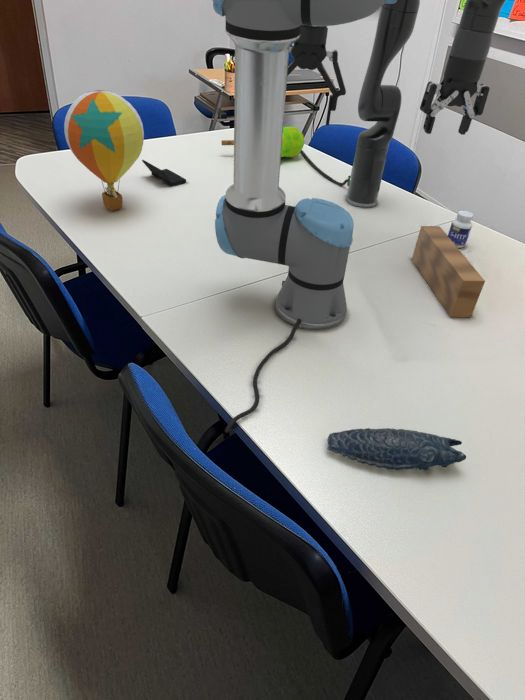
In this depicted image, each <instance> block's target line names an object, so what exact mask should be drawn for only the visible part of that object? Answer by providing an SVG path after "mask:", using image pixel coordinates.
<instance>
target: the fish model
mask: <svg viewBox="0 0 525 700" xmlns="http://www.w3.org/2000/svg"><path fill="white" fill-rule="evenodd" d="M326 440H327V444H328V446H327V451H330V452H333V453H334V454H339V455H340V456H342V457H343V458H344V457H345V458H346V457H347V459H349V460H351V461H356V462H357V463H360V464H366V465H368V466H374V467H376V468H378V469H379V468H380V469H385V470H386V469H387V470H395V471H401V470H411V469H416V470H419V471H427V470H429V469H430V468H433V467H438V466H439V467H441V468H448V467H449V466H451V465H453V464H456V463H461V462H463V461H465V460H466V459H467V455H466V454H465V453H464V452H462V451H461V450H457V449H456V448H454V446H459V445H462V444H463V441H461V440H459V439H455V438H450V437H445V436H440V435H438V434H432V433H427V432H424V431H417V430H412V429H411V430H410V429H405V428H398V429H396V428H388V427H387V428H383V427H382V428H370V427H368V428H353V429H349V430H342V431H337V432H332V433H329V435H328V437H327V439H326Z"/></svg>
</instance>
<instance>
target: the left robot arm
mask: <svg viewBox="0 0 525 700" xmlns="http://www.w3.org/2000/svg"><path fill="white" fill-rule="evenodd" d="M211 1H212V8H213V10H214V13H216V14H217V15H219V16H220V17H225V33H226V35H227V36H228V37H229V39H230V40H232V42H233V43H234V105H233V106H234V107H233V108H234V110H233V111H234V112H233V113H234V114H233V117H234V118H233V120H234V121H233V128H234V129H233V140H234V145H233V184H232V185H230V186H229V187H228V188H227V189H226V190H225V194H224V195H222V196H221V197H220V199H218V202H217V205H216V209H215V220H214V230H215V231H214V233H215V237H216V242H217V245H218V246H219V248H220V250H221V251H222V252H223V253H225V254H227V255H230V256H235V257H237V258H240V259H250V260H254V261H260V262H266V263H270V264H277V265H282V266H287V267H288V270H287V271H288V272H287V275H286V278H285V279H284V280H281V287H280V290H279V291H278V294H277V296H276V300H275V311H276V313H277V315H278V316H279V317H280V318H281V319H282V320H283V321H284V322H286V323H287V324H289V325H291V326H293V327H292V329H291V332H290V334H289V335H288V337H287V338H286V339H285V340H284V341H283V342H282V343H281V344H280V345H278V346H277V347H275V348H273V349H271V350H270V351H269V352H268V354H267V355H265V356H264V358H263V359H262V360H261V361H260V363H259V364H258V366H257V368H256V370H255V372H254V374H253V379H252V387H253V391H254V392H253V393H254V402H253V404H252V406H251V407H250V408H249V409H246V410H245V411H243V412H241V413H239V414H237V415H235V416H234V417H233V418H232V419H231V420H230V421H229V423H227V425H226V427H225V429H224V432H225V434H227V433H230V432H231V429H232V428H233V426H234V425H235V424H236V423H237V422H238V421H239V420H240V419H242V418H245V417H247V416H249V415H250V414H252V413H254V411H256V409H257V408H258V406H259V403H260V391H259V386H258V377H259V375H260V372H261V370H262V369H263V367H264V366H265V364H266V363H267V362H268V361H269V359H270V358H271V357H273V355H274V354H276V353H277V352H279V351H280V350H282V349H283V348H285V347H286V346H287V345H289V343H290V342H291V341H292V340H293V338H294V336H295V334H296V332H297V329H298V328H300V329H304V330H310V331H324V330H325V331H326V330H329V329H333V328H336V327H337V326H339V325H340V324H342V323H343V322H344V320H345V318H346V315H347V310H348V307H347V306H348V305H347V297H346V292H345V286H344V280H345V275H346V271H347V267H348V266H347V265H348V260H349V256H350V255H349V254H350V250H351V249H350V248H351V246H352V244H353V242H354V239H353V236H354V235H353V234H354V228H355V223H354V222H355V221H354V219H353V217H352V215H351V214H350V213H349V212H348V211H347V210H346V209H345V208H344V207H343V206H341V205H339V204H337V203H334V202H333V201H329V200H326V199H323V198H318V197H317V198H316V197H312V198H308V197H307V198H303V199H300V200H299V201H297V202H296V205H295V206H294V205H290V204H289V205H288V204H286V200H287V199H286V197H287V196H286V192H285V191H284V190H283V189H282V188H281V187H280V175H281V174H280V173H281V163H282V162H281V161H282V157H281V150H282V137H283V127H284V122H285V111H286V110H285V108H286V97H287V83H288V76H289V75H290V74H291V73H292V72H293V71H294V70H295V69H296V68H297V67H298V68H299V69H300V70H306V69H307V70H309V71H314V70H316V69H317V71H318V73H319V74H320V76H321V77H322V79H323V81H324V83H325V84H326V86H327V88H328V89H329V91H330V93H331V94H329V100H328V105H327V113H326V119H325V126H330V122H331V121H330V120H331V114H332V112H335V111H336V109H337V104H338V99H339V97H342V96H345V95H346V94H347V90H346V86H345V82H344V79H343V76H342V72H341V68H340V65H339V61H338V60H339V57H338V56H339V51H338V50H337V49H333V50H327V48H326V47H327V38H328V31H329V30H328V29H329V28H328V27H333V26H340V25H345V24H350V23H353V22H357V21H360V20H362V19H363V20H364V19H365V18H368V17H371V16H372V15H373V14H374V13H376V12H377V11H378V10H379V9H381V6H382V5H383V4H394V3H395V2H396V1H397V0H211ZM292 45H293V46H292ZM290 54H291V56H292V58H293V60H292V62H291V63H290V64H289V59H290V57H289V56H290ZM327 57H328V60H329V62H332V67H333V71H334V74H335V77H336V82H337V84H338V88H339V89H337V87H336V86H335V84H334V82H333V80H332V79H331V76H330V75H329V73H328V72H327V69H326V68H325V65H324V64H323V61H325V59H326V58H327Z"/></svg>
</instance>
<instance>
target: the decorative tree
mask: <svg viewBox="0 0 525 700" xmlns="http://www.w3.org/2000/svg"><path fill="white" fill-rule="evenodd" d="M221 146H234V139H231V140H229V139H226V140H224V139H223V140H221ZM304 146H305V136H304V134H303V133H302V131H300V129H298V128H297V127H296V126H283V137H282V150H281V158H294V157H296V156H298V155H299V154H301V150H302V151H303V148H304Z"/></svg>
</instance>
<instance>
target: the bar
mask: <svg viewBox="0 0 525 700" xmlns="http://www.w3.org/2000/svg"><path fill="white" fill-rule="evenodd" d="M411 260H412V262H413V264H414V265H415V267H416V268H417V270H418V271H419V273H420V274H421V276H422V277H423V278H424V280H425V282H426V283H427V285H428V286H429V288H430V289H431V291H432V292H433V293H434V295H435V297H436V298H437V299H438V301H439V303H440V304H441V305H442V307H443V309H444V310H445V311H446V313H447V315H448V316H449V317H450V318H472V316H473V313H474V310H475V308H476V305H477V303H478V300H479V298H480V295H481V293H482V290H483V288H484V285H485V283H486V280H485V279H484V278H483V276H482V275H481V274H480V272H479V271H478V270H477V269H476V268H475V267H474V266H473V264H472V263H471V262H470V260H468V258H467V257H466V256H465V255H464V254H463V252H462V251H461V250H460V248H457V247H456V245H455V244H454V243H453V242H452V241H451V239H450V238H449V237H448V234H447V233H446V231H444V230H443V229H442V226H438V225H421V226H420V229H419V233H418V235H417V238H416V241H415V247H414V249H413V254H412V256H411Z"/></svg>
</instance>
